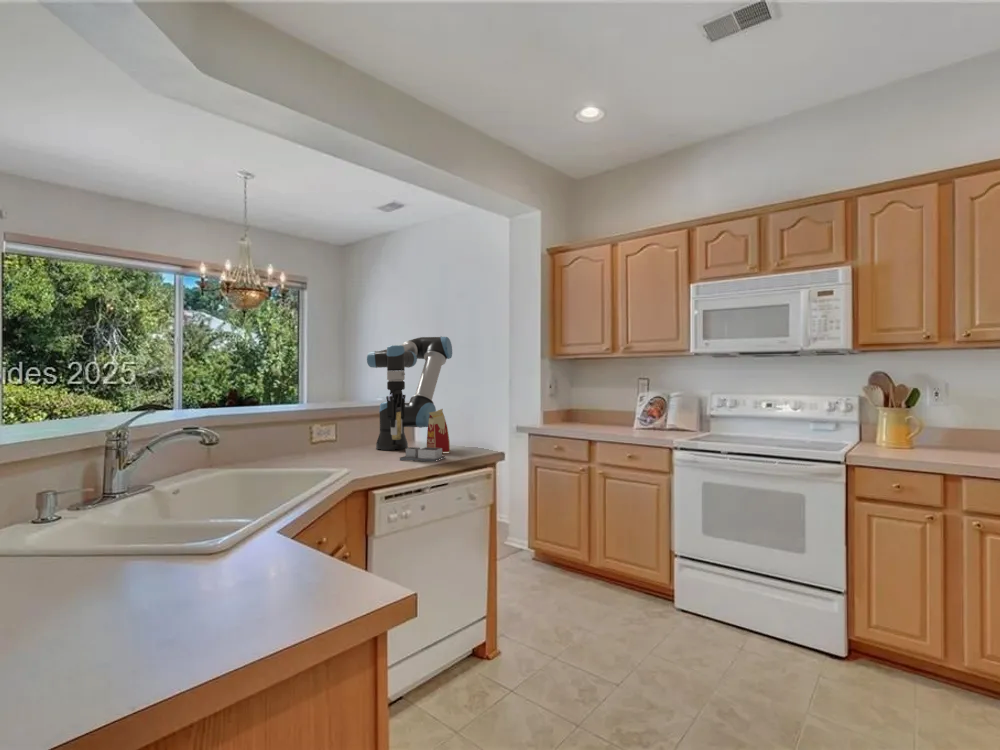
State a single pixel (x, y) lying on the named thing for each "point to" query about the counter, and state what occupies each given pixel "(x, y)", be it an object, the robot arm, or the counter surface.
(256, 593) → the counter surface
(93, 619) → the counter surface
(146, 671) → the counter surface
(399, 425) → the brass valve
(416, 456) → the manifold plate
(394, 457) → the counter surface
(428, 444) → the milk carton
